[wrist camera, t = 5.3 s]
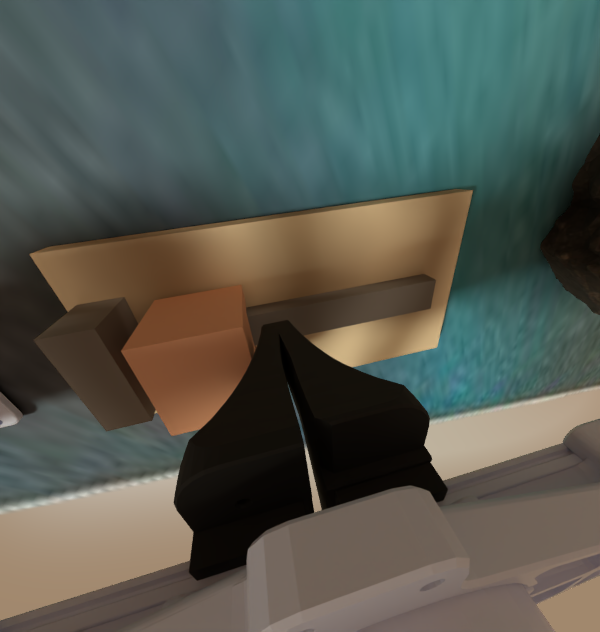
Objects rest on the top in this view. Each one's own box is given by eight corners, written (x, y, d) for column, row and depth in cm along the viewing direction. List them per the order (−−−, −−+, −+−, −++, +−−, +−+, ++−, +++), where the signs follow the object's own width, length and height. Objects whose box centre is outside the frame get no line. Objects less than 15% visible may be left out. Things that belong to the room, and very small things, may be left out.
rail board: (144, 401, 16) (119, 463, 13) (48, 246, 11) (-37, 279, 7) (426, 337, 19) (468, 374, 15) (455, 188, 14) (528, 194, 10)
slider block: (187, 373, 14) (171, 436, 11) (154, 300, 12) (120, 350, 8) (258, 357, 14) (265, 412, 11) (241, 284, 12) (242, 326, 9)
